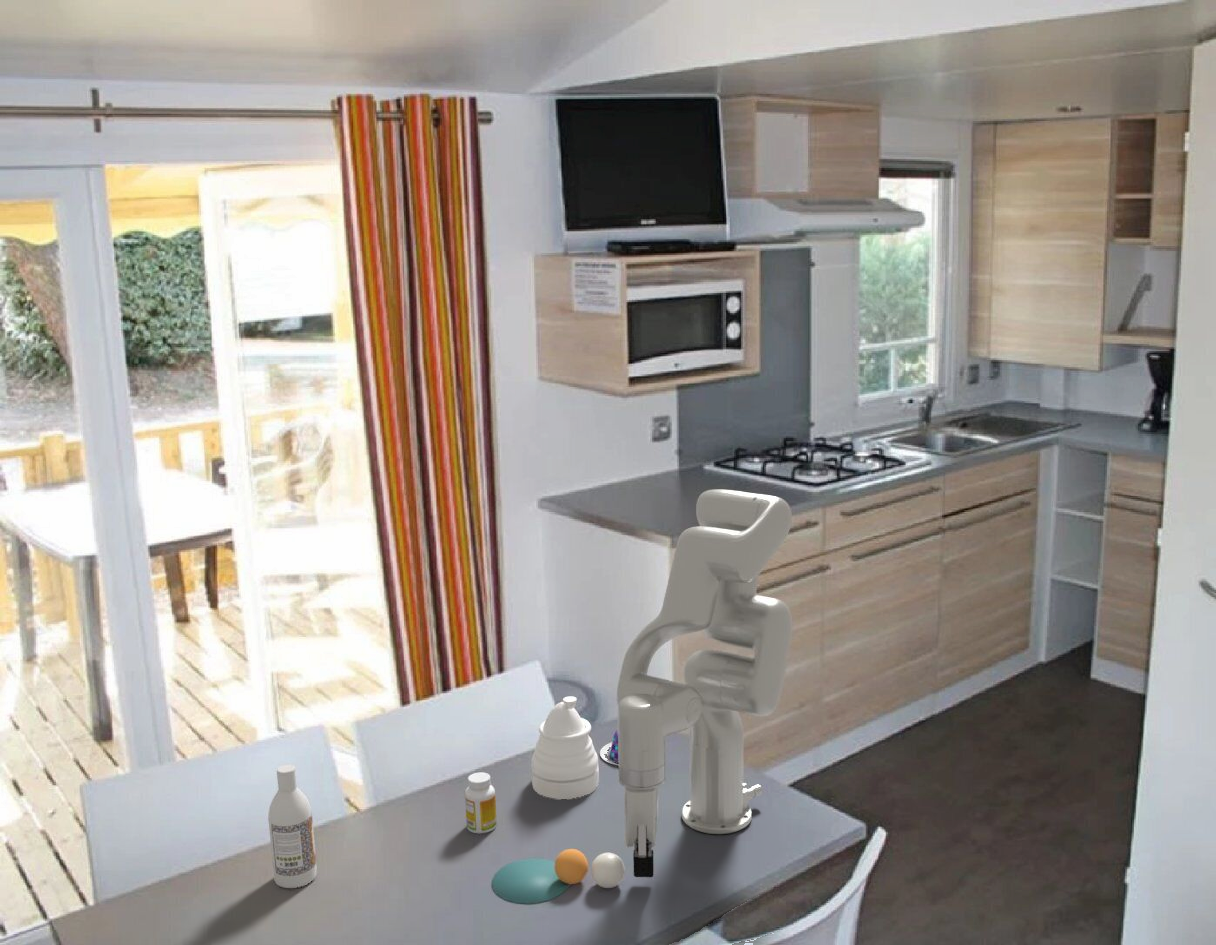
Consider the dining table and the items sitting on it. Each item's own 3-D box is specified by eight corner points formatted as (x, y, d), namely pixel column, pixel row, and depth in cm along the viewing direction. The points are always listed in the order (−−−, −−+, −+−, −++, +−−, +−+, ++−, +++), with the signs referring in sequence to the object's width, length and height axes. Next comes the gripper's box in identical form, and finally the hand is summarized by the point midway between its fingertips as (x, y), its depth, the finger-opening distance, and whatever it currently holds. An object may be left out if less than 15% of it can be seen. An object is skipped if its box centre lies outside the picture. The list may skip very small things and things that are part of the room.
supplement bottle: (499, 819, 216) (497, 770, 214) (493, 834, 211) (491, 784, 208) (470, 818, 216) (467, 769, 214) (463, 834, 211) (461, 784, 209)
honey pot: (612, 781, 229) (610, 694, 225) (565, 806, 220) (562, 716, 216) (565, 761, 237) (562, 677, 233) (518, 785, 228) (514, 698, 224)
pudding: (597, 744, 245) (596, 721, 244) (654, 740, 246) (654, 717, 245) (603, 771, 234) (602, 747, 232) (663, 767, 235) (662, 742, 234)
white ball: (607, 841, 196) (599, 868, 198) (589, 853, 192) (581, 881, 193) (634, 858, 194) (626, 886, 195) (616, 871, 189) (608, 900, 191)
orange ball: (580, 867, 199) (570, 838, 198) (598, 876, 195) (588, 847, 193) (554, 884, 196) (544, 856, 195) (572, 894, 192) (562, 865, 191)
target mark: (542, 851, 205) (542, 850, 205) (586, 884, 195) (586, 883, 194) (477, 877, 197) (477, 876, 197) (519, 913, 187) (519, 912, 187)
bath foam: (321, 883, 197) (311, 772, 192) (279, 894, 194) (268, 782, 189) (312, 863, 203) (302, 755, 198) (271, 873, 200) (260, 764, 196)
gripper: (620, 750, 198) (622, 850, 202) (616, 793, 183) (618, 900, 187) (665, 750, 197) (667, 850, 201) (665, 794, 183) (666, 900, 187)
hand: (643, 874), depth 194 cm, fingers closed
